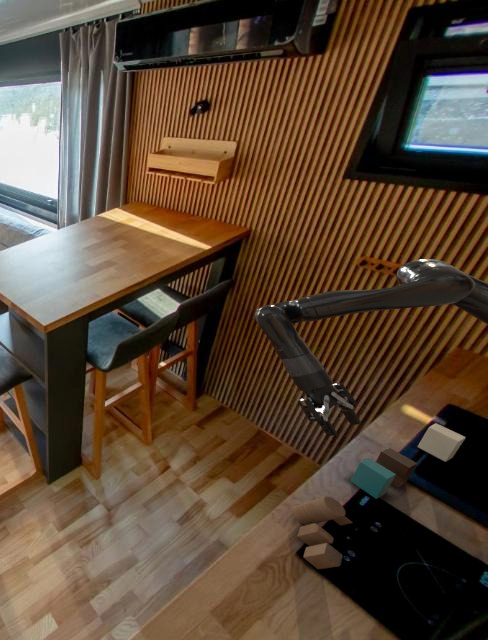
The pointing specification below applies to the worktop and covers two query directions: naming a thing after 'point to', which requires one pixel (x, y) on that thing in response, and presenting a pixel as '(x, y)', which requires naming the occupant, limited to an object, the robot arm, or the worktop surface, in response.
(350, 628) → the worktop surface
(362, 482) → the tile
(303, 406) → the robot arm
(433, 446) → the tile
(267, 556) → the worktop surface
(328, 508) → the wooden block set
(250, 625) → the worktop surface
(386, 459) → the brown rectangular block
